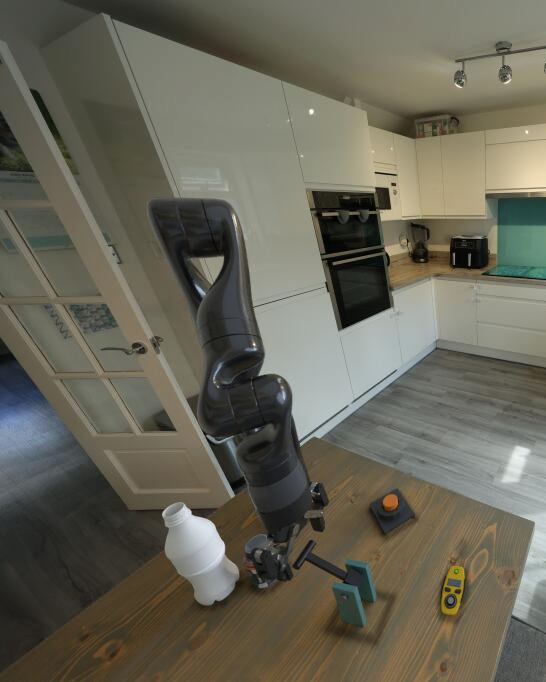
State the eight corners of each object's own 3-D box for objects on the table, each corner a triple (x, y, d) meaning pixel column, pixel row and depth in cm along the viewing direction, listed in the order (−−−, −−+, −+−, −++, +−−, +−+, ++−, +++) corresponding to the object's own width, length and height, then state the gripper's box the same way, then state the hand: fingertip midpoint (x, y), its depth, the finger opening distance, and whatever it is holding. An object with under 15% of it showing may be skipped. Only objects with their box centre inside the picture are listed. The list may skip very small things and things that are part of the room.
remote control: (436, 611, 61) (453, 536, 74) (436, 616, 61) (453, 541, 75) (460, 616, 60) (472, 539, 73) (460, 621, 61) (473, 544, 74)
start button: (381, 504, 80) (380, 499, 79) (394, 496, 82) (393, 491, 81) (387, 514, 77) (386, 509, 77) (400, 505, 79) (399, 501, 79)
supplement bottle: (271, 595, 65) (255, 562, 60) (247, 588, 66) (229, 555, 61) (292, 565, 70) (279, 532, 65) (270, 559, 71) (255, 526, 66)
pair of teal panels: (328, 628, 60) (313, 590, 54) (348, 587, 66) (337, 550, 60) (376, 641, 58) (366, 603, 53) (392, 598, 64) (385, 560, 59)
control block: (370, 509, 82) (368, 499, 81) (398, 493, 87) (396, 483, 85) (386, 538, 75) (384, 528, 74) (415, 519, 80) (414, 508, 78)
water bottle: (195, 618, 61) (137, 536, 50) (204, 582, 67) (154, 501, 56) (239, 598, 64) (193, 517, 53) (245, 565, 70) (204, 486, 59)
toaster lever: (290, 568, 55) (293, 562, 54) (307, 543, 59) (311, 537, 58) (350, 600, 56) (354, 595, 55) (363, 573, 60) (367, 568, 59)
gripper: (292, 453, 57) (312, 513, 63) (219, 526, 44) (253, 592, 51) (329, 459, 55) (345, 520, 62) (264, 536, 43) (294, 602, 49)
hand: (304, 552), depth 56 cm, fingers open, 8 cm apart
